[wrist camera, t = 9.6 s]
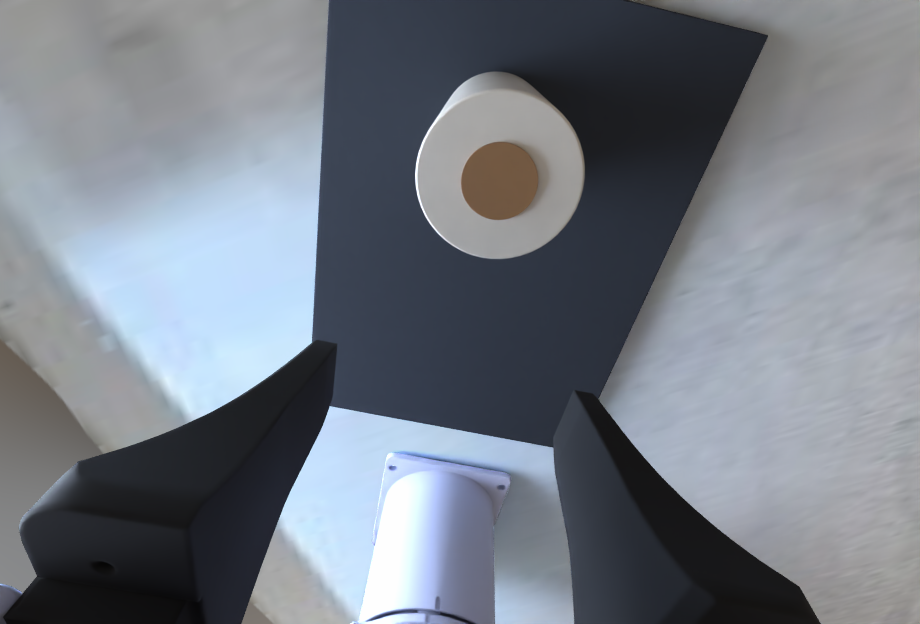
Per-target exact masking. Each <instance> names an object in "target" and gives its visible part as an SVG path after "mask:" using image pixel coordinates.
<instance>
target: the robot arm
mask: <svg viewBox="0 0 920 624" xmlns="http://www.w3.org/2000/svg"><path fill="white" fill-rule="evenodd" d="M336 356H337V343H332V342H327V341H322V340H315V341H314V342H312V343H311V344H310V345H309V346H308V347H306V348H305V349H304V350H303V351H301V352H300V353H299V354H298V355H297V356H295V357H294V358H293V359H292V360H290V361H289V362H288V363H287V364H285V365H284V366H283V367H281V368H280V369H279V370H277V371H276V372H274V373H273V374H272V375H270V376H269V377H268V378H266V379H265V380H263V381H262V382H260V383H259V384H257V385H256V386H254V387H253V388H251V389H250V390H248V391H247V392H245V393H244V394H242V395H241V396H239V397H237V398H236V399H234V400H232V401H231V402H229V403H227V404H225V405H224V406H222V407H220V408H218V409H216V410H215V411H213V412H211V413H209V414H207V415H205V416H202V417H200V418H198V419H196V420H194V421H192V422H189V423H187V424H185V425H183V426H181V427H178V428H176V429H174V430H171V431H169V432H166V433H164V434H161V435H159V436H156V437H154V438H151V439H148V440H145V441H143V442H140V443H137V444H134V445H131V446H128V447H125V448H122V449H119V450H116V451H112V452H109V453H106V454H102V455H99V456H96V457H92V458H89V459H86V460H82V461H78V462H77V463H76V464H75V465H74V466H73V467H72V468H71V469H70V470H68V471H67V472H66V473H65V474H64V475H63V476H62V477H61V478H60V479H59V480H58V481H57V482H56V483H55V484H54V485H53V486H52V487H51V488H50V489H49V490H48V491H47V492H46V493H45V494H44V495H43V496H42V497H41V498H40V500H39V501H37V503H36V504H35V505H34V506H33V507H32V508H31V509H30V510H29V511H28V512H27V513H26V514H25V515H24V516H23V517H22V519H21V522H20V525H19V531H20V536H21V540H22V543H23V545H24V548H25V550H26V552H27V554H28V557H29V559H30V561H31V563H32V566H33V568H34V570H35V572H36V574H37V577H36V578H35V579H34V581H33V582H32V583H31V584H30V586H29V587H28V588H27V589H26V590H25V591H24V593H23V594H22V593H21V592H20V591H19V590H18V589H16V588H14V587H12V586H9V585H5V584H1V583H0V624H241V623H242V620H243V617H244V614H245V611H246V608H247V606H248V602H249V600H250V597H251V594H252V591H253V588H254V586H255V583H256V580H257V577H258V574H259V571H260V568H261V566H262V563H263V560H264V558H265V555H266V552H267V549H268V547H269V544H270V541H271V538H272V536H273V533H274V530H275V528H276V525H277V522H278V520H279V517H280V515H281V512H282V509H283V507H284V504H285V502H286V500H287V497H288V495H289V493H290V491H291V489H292V487H293V485H294V483H295V481H296V479H297V477H298V475H299V473H300V471H301V469H302V467H303V465H304V463H305V461H306V459H307V457H308V455H309V453H310V451H311V449H312V446H313V444H314V442H315V440H316V438H317V436H318V434H319V432H320V430H321V428H322V426H323V423H324V421H325V418H326V415H327V412H328V409H329V406H330V403H331V401H332V398H333V390H334V379H335V367H336ZM553 445H554V465H555V473H556V479H557V485H558V490H559V496H560V501H561V506H562V512H563V517H564V522H565V528H566V533H567V539H568V546H569V553H570V564H571V576H572V589H573V605H574V622H575V624H821V623H820V622H819V620H818V618H817V616H816V615H815V613H814V611H813V609H812V608H811V606H810V604H809V602H808V601H807V599H806V597H805V596H804V594H803V592H802V590H801V589H800V587H799V586H797V585H796V584H794V583H793V582H791V581H790V580H788V579H787V578H785V577H784V576H782V575H781V574H779V573H778V572H776V571H775V570H773V569H772V568H770V567H769V566H767V565H766V564H764V563H763V562H761V561H760V560H758V559H757V558H756V557H754V556H753V555H751V554H750V553H749V552H747V551H746V550H745V549H743V548H742V547H741V546H739V545H738V544H737V543H735V542H734V541H733V540H731V539H730V538H729V537H727V536H726V535H725V534H724V533H722V532H721V531H720V530H719V529H717V528H716V527H715V526H714V525H713V524H711V523H710V522H709V521H708V520H707V519H706V518H704V517H703V516H702V515H701V514H700V513H699V512H697V511H696V510H695V509H694V508H693V507H692V506H691V505H690V504H688V503H687V502H686V501H685V500H684V499H683V498H682V497H681V496H680V495H679V494H678V493H677V492H676V491H675V490H674V489H673V488H672V487H671V486H670V485H669V484H668V483H667V482H666V481H665V480H664V479H663V478H662V477H661V476H660V475H659V474H658V473H657V472H656V471H655V469H654V468H653V467H652V466H651V465H650V464H649V463H648V462H647V460H646V459H645V458H644V457H643V456H642V455H641V453H640V452H639V451H638V450H637V449H636V448H635V446H634V445H633V444H632V443H631V441H630V440H629V439H628V438H627V436H626V435H625V434H624V433H623V431H622V430H621V429H620V427H619V426H618V425H617V424H616V422H615V421H614V420H613V418H612V417H611V416H610V414H609V413H608V412H607V410H606V409H605V408H604V407H603V405H602V404H601V403H600V401H599V400H598V399H597V398H596V396H595V395H594V394H593V393H588V392H583V391H578V390H573V393H572V395H571V397H570V400H569V402H568V404H567V407H566V409H565V411H564V414H563V416H562V418H561V421H560V423H559V426H558V428H557V430H556V433H555V435H554V437H553ZM392 465H394V466H392ZM510 484H511V476H510V475H509V474H508V473H504V472H499V471H493V470H488V469H482V468H477V467H471V466H466V465H460V464H455V463H449V462H444V461H438V460H433V459H427V458H422V457H416V456H411V455H405V454H399V453H390V454H389V455H388V456H387V459H386V464H385V470H384V475H383V481H382V487H381V492H380V498H379V504H378V509H377V515H376V521H375V526H374V532H373V538H372V544H373V545H374V546H375V549H374V553H373V558H372V563H371V567H370V572H369V576H368V581H367V585H366V590H365V594H364V599H363V604H362V608H361V613H360V617H359V622H352V623H351V624H495V587H494V525H495V523H496V520H497V518H498V515H499V513H500V510H501V507H502V505H503V502H504V500H505V497H506V495H507V492H508V489H509V487H510Z"/></svg>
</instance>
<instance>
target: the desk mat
mask: <svg viewBox="0 0 920 624" xmlns="http://www.w3.org/2000/svg"><path fill="white" fill-rule="evenodd" d="M767 37H768V35H765V34H761V33H757V32H753V31H749V30H745V29H741V28H737V27H733V26H729V25H725V24H720V23H716V22H712V21H708V20H704V19H700V18H696V17H692V16H688V15H684V14H680V13H676V12H672V11H668V10H664V9H660V8H656V7H652V6H648V5H644V4H640V3H636V2H632V1H628V0H329V12H328V32H327V53H326V73H325V93H324V113H323V133H322V153H321V173H320V193H319V213H318V233H317V253H316V274H315V294H314V314H313V334H312V342H314V341H315V340H322V341H327V342H332V343H337V356H336V367H335V379H334V390H333V398H332V401H331V403H330V406H333V407H338V408H343V409H349V410H354V411H360V412H365V413H370V414H376V415H381V416H386V417H392V418H397V419H403V420H408V421H413V422H419V423H424V424H430V425H435V426H440V427H446V428H451V429H457V430H462V431H467V432H473V433H478V434H483V435H489V436H494V437H500V438H505V439H510V440H516V441H521V442H527V443H532V444H537V445H543V446H548V447H554V445H553V437H554V435H555V433H556V430H557V428H558V426H559V423H560V421H561V418H562V416H563V414H564V411H565V409H566V407H567V404H568V402H569V400H570V397H571V395H572V393H573V390H578V391H583V392H588V393H593V394H594V395H595V396H596V398H597V399H599V397H600V394H601V392H602V390H603V388H604V386H605V384H606V382H607V379H608V377H609V375H610V373H611V371H612V369H613V367H614V364H615V362H616V360H617V358H618V356H619V354H620V352H621V349H622V347H623V345H624V343H625V341H626V339H627V337H628V335H629V332H630V330H631V328H632V326H633V324H634V322H635V320H636V317H637V315H638V313H639V311H640V309H641V307H642V305H643V302H644V300H645V298H646V296H647V294H648V292H649V290H650V288H651V285H652V283H653V281H654V279H655V277H656V275H657V273H658V270H659V268H660V266H661V264H662V262H663V260H664V258H665V255H666V253H667V251H668V249H669V247H670V245H671V243H672V240H673V238H674V236H675V234H676V232H677V230H678V228H679V226H680V223H681V221H682V219H683V217H684V215H685V213H686V211H687V208H688V206H689V204H690V202H691V200H692V198H693V196H694V193H695V191H696V189H697V187H698V185H699V183H700V181H701V178H702V176H703V174H704V172H705V170H706V168H707V166H708V164H709V161H710V159H711V157H712V155H713V153H714V151H715V149H716V146H717V144H718V142H719V140H720V138H721V136H722V134H723V131H724V129H725V127H726V125H727V123H728V121H729V119H730V117H731V114H732V112H733V110H734V108H735V106H736V104H737V102H738V99H739V97H740V95H741V93H742V91H743V89H744V87H745V84H746V82H747V80H748V78H749V76H750V74H751V72H752V69H753V67H754V65H755V63H756V61H757V59H758V57H759V55H760V52H761V50H762V48H763V46H764V44H765V42H766V40H767ZM486 72H506V73H510V74H513V75H516V76H518V77H520V78H522V79H523V80H525V81H526V82H528V83H529V84H530V85H531V86H532V87H533V88H534V89H536V90H537V91H538V92H539V93H540V94H541V95H542V96H543V97H544V98H546V99H547V100H548V101H549V102H550V103H551V104H552V105H553V106H554V107H556V108H557V109H558V110H559V111H560V112H561V113H562V114H563V115H564V116H565V118H566V119H567V120H568V121H569V122H570V124H571V126H572V127H573V129H574V131H575V132H576V134H577V137H578V139H579V142H580V144H581V148H582V152H583V156H584V164H585V178H584V186H583V191H582V194H581V198H580V201H579V203H578V206H577V208H576V210H575V212H574V214H573V215H572V217H571V219H570V220H569V222H568V223H567V224H566V226H565V227H564V228H563V229H562V230H561V231H560V232H559V234H558V235H557V236H555V237H554V238H553V239H552V240H551V241H549V242H548V243H546V244H545V245H543V246H542V247H540V248H538V249H536V250H534V251H532V252H530V253H527V254H524V255H522V256H518V257H513V258H506V259H489V258H482V257H478V256H474V255H470V254H468V253H466V252H463V251H461V250H459V249H457V248H456V247H454V246H452V245H451V244H450V243H448V242H447V241H445V240H444V239H443V238H442V237H441V236H440V235H439V234H438V233H437V232H436V231H435V229H434V228H433V227H432V226H431V224H430V223H429V221H428V220H427V218H426V216H425V214H424V212H423V210H422V208H421V205H420V202H419V199H418V195H417V189H416V178H415V173H416V162H417V158H418V153H419V150H420V147H421V145H422V142H423V140H424V138H425V136H426V134H427V132H428V130H429V129H430V127H431V126H432V124H433V123H434V121H435V120H436V118H437V117H438V115H439V114H440V112H441V110H442V109H443V107H444V106H445V104H446V103H447V101H448V100H449V98H450V97H451V96H452V94H453V93H454V92H455V90H456V89H457V88H458V87H459V86H460V85H462V84H463V83H464V82H465V81H467V80H469V79H470V78H472V77H474V76H476V75H479V74H482V73H486Z"/></svg>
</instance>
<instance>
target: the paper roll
mask: <svg viewBox="0 0 920 624" xmlns="http://www.w3.org/2000/svg"><path fill="white" fill-rule="evenodd" d="M415 178H416V189H417V195H418V199H419V202H420V205H421V208H422V210H423V212H424V214H425V216H426V218H427V220H428V221H429V223H430V224H431V226H432V227H433V228H434V229H435V231H436V232H437V233H438V234H439V235H440V236H441V237H442V238H443V239H444V240H445V241H447V242H448V243H450V244H451V245H452V246H454V247H456V248H457V249H459V250H461V251H463V252H466V253H468V254H470V255H474V256H478V257H482V258H489V259H506V258H513V257H518V256H522V255H524V254H527V253H530V252H532V251H534V250H536V249H538V248H540V247H542V246H543V245H545V244H546V243H548V242H549V241H551V240H552V239H553V238H554V237H555V236H557V235H558V234H559V232H560V231H561V230H562V229H563V228H564V227H565V226H566V224H567V223H568V222H569V220H570V219H571V217H572V215H573V214H574V212H575V210H576V208H577V206H578V203H579V201H580V198H581V194H582V191H583V186H584V178H585V164H584V156H583V152H582V148H581V144H580V142H579V139H578V137H577V134H576V132H575V131H574V129H573V127H572V126H571V124H570V122H569V121H568V120H567V119H566V118H565V116H564V115H563V114H562V113H561V112H560V111H559V110H558V109H557V108H556V107H554V106H553V105H552V104H551V103H550V102H549V101H548V100H547V99H546V98H544V97H543V96H542V95H541V94H540V93H539V92H538V91H537V90H536V89H534V88H533V87H532V86H531V85H530V84H529V83H528V82H526V81H525V80H523V79H522V78H520V77H518V76H516V75H513V74H510V73H506V72H486V73H482V74H479V75H476V76H474V77H472V78H470V79H469V80H467V81H465V82H464V83H463V84H462V85H460V86H459V87H458V88H457V89H456V90H455V92H454V93H453V94H452V96H451V97H450V98H449V100H448V101H447V103H446V104H445V106H444V107H443V109H442V110H441V112H440V114H439V115H438V117H437V118H436V120H435V121H434V123H433V124H432V126H431V127H430V129H429V130H428V132H427V134H426V136H425V138H424V140H423V142H422V145H421V147H420V150H419V153H418V158H417V162H416V173H415Z"/></svg>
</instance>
